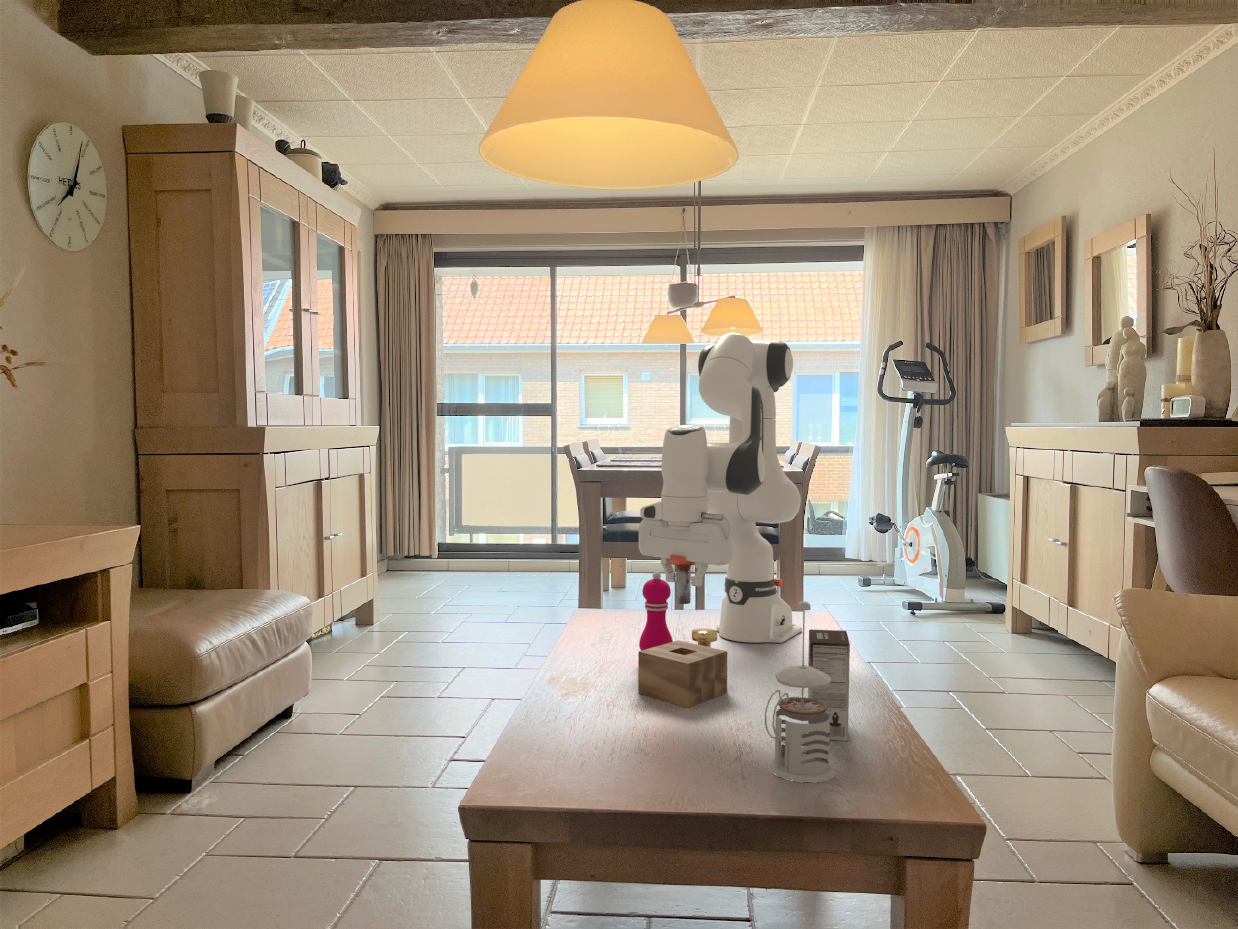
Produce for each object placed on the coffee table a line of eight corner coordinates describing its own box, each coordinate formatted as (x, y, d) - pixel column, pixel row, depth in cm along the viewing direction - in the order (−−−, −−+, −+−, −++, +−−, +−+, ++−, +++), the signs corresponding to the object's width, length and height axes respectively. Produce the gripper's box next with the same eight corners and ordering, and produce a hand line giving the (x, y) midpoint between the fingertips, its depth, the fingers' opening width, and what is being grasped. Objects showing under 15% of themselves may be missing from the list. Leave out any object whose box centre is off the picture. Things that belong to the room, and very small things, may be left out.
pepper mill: (673, 661, 181) (674, 569, 181) (672, 670, 174) (673, 575, 173) (640, 660, 182) (640, 568, 181) (637, 669, 175) (638, 574, 174)
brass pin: (701, 670, 174) (702, 627, 174) (721, 675, 171) (722, 631, 171) (686, 675, 171) (686, 631, 170) (706, 681, 167) (707, 635, 167)
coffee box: (806, 720, 145) (808, 628, 144) (844, 722, 144) (846, 630, 143) (808, 739, 136) (810, 641, 135) (849, 742, 134) (851, 643, 134)
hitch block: (677, 679, 168) (678, 640, 167) (726, 692, 160) (727, 651, 159) (638, 693, 159) (638, 651, 159) (688, 707, 151) (688, 663, 150)
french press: (850, 773, 122) (853, 603, 121) (792, 792, 116) (795, 612, 115) (801, 752, 130) (803, 592, 129) (744, 767, 124) (747, 600, 123)
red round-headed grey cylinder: (681, 598, 162) (681, 552, 162) (702, 602, 159) (703, 554, 158) (664, 602, 158) (664, 555, 158) (685, 606, 155) (686, 557, 154)
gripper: (739, 513, 153) (739, 588, 154) (654, 506, 167) (654, 575, 168) (719, 516, 148) (718, 593, 149) (633, 508, 162) (633, 579, 163)
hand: (683, 583), depth 158 cm, fingers closed on red round-headed grey cylinder, 5 cm apart
